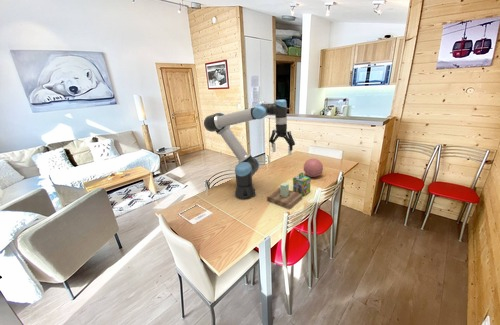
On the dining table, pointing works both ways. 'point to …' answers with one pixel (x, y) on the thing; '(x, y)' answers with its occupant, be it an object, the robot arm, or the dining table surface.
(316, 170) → the pink ball
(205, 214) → the photo frame
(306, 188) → the chalk box
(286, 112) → the robot arm
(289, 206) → the socket board
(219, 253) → the dining table surface
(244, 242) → the dining table surface
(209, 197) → the dining table surface
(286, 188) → the peg
